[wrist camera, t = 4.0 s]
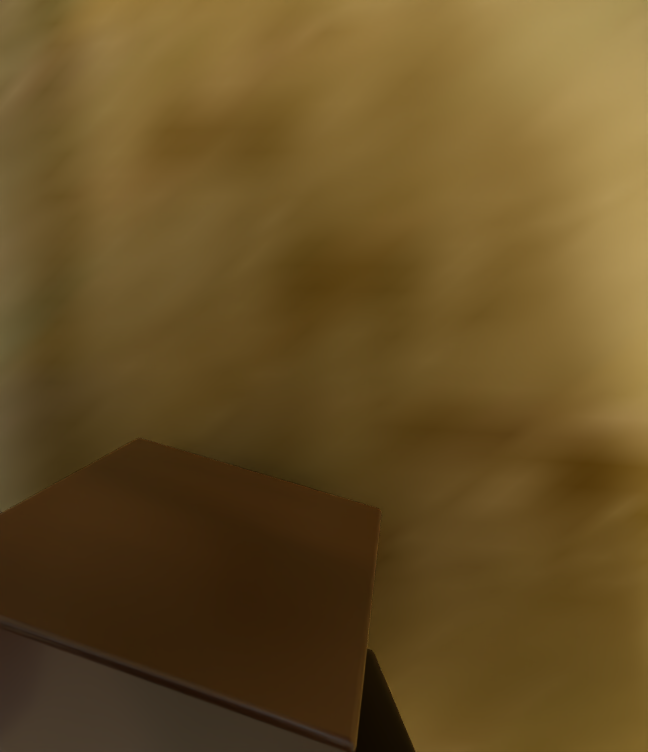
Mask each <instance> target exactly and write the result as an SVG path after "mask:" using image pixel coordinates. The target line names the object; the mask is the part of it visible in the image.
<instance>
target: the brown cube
mask: <svg viewBox="0 0 648 752" xmlns="http://www.w3.org/2000/svg"><path fill="white" fill-rule="evenodd" d="M381 516H382V512H381V510H380V509H379V508H376V507H372V506H369V505H366V504H362V503H359V502H356V501H352V500H349V499H345V498H342V497H339V496H335V495H332V494H328V493H325V492H322V491H318V490H315V489H312V488H308V487H305V486H301V485H298V484H295V483H291V482H288V481H284V480H281V479H278V478H274V477H271V476H268V475H264V474H261V473H257V472H254V471H251V470H247V469H244V468H240V467H237V466H234V465H230V464H227V463H224V462H220V461H217V460H213V459H210V458H207V457H203V456H200V455H196V454H193V453H190V452H186V451H183V450H179V449H176V448H173V447H169V446H166V445H163V444H159V443H156V442H152V441H149V440H146V439H142V438H137V439H135V440H133V441H131V442H129V443H127V444H126V445H124V446H122V447H120V448H118V449H117V450H115V451H113V452H111V453H109V454H107V455H106V456H104V457H102V458H100V459H98V460H97V461H95V462H93V463H91V464H89V465H87V466H86V467H84V468H82V469H80V470H78V471H76V472H75V473H73V474H71V475H69V476H67V477H66V478H64V479H62V480H60V481H58V482H56V483H55V484H53V485H51V486H49V487H47V488H45V489H44V490H42V491H40V492H38V493H36V494H35V495H33V496H31V497H29V498H27V499H25V500H24V501H22V502H20V503H18V504H16V505H15V506H13V507H11V508H9V509H7V510H5V511H4V512H2V513H0V752H355V750H356V747H357V738H358V729H359V720H360V710H361V701H362V692H363V683H364V673H365V664H366V655H367V646H368V636H369V627H370V618H371V609H372V600H373V590H374V581H375V572H376V563H377V553H378V544H379V535H380V526H381Z"/></svg>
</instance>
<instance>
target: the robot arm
mask: <svg viewBox="0 0 648 752" xmlns="http://www.w3.org/2000/svg"><path fill="white" fill-rule="evenodd" d="M355 752H415V750H414V747H413V745H412V742H411V740H410V738H409V735H408V733H407V730H406V728H405V726H404V723H403V721H402V718H401V716H400V714H399V711H398V709H397V707H396V704H395V702H394V699H393V697H392V695H391V692H390V690H389V687H388V685H387V683H386V680H385V678H384V675H383V673H382V671H381V668H380V666H379V663H378V661H377V659H376V656H375V654H374V652H373V651H372V650H370V649H368V648H367V655H366V664H365V673H364V683H363V692H362V701H361V710H360V720H359V729H358V738H357V747H356V750H355Z"/></svg>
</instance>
